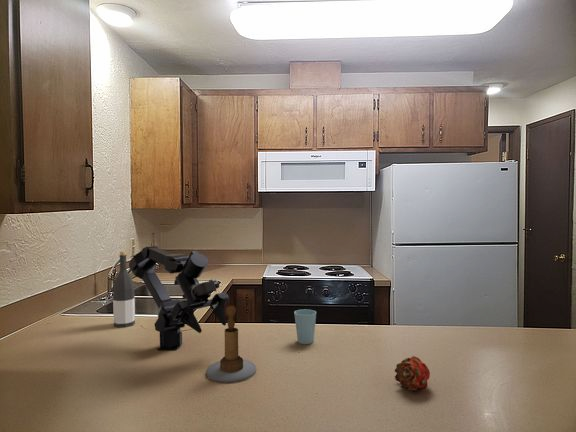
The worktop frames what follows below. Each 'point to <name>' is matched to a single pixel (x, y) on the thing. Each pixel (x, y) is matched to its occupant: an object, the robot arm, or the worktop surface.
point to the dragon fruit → (412, 373)
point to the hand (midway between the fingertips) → (213, 328)
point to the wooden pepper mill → (231, 345)
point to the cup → (305, 325)
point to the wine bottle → (123, 296)
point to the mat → (231, 373)
